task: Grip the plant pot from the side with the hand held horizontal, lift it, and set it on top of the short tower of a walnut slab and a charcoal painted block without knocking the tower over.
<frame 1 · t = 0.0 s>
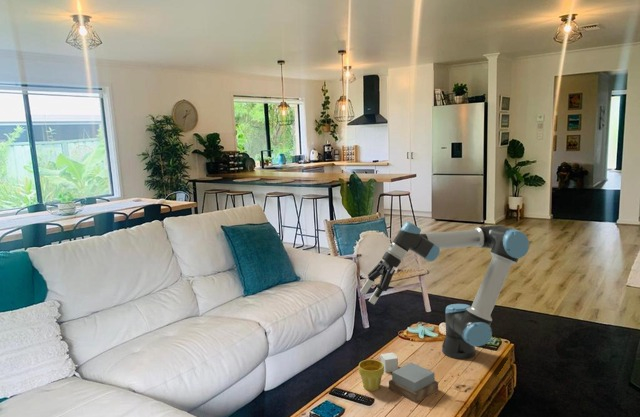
hand: (366, 297, 194), 36 cm above the table, tool tilted 35°, fingers open, 13 cm apart
matte white cube: (389, 369, 206), on the table
plant pot: (371, 387, 191), on the table
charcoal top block: (413, 381, 187), point 3 cm above the table, touching walnut base slab
walnut base slab: (413, 390, 188), on the table, touching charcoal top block
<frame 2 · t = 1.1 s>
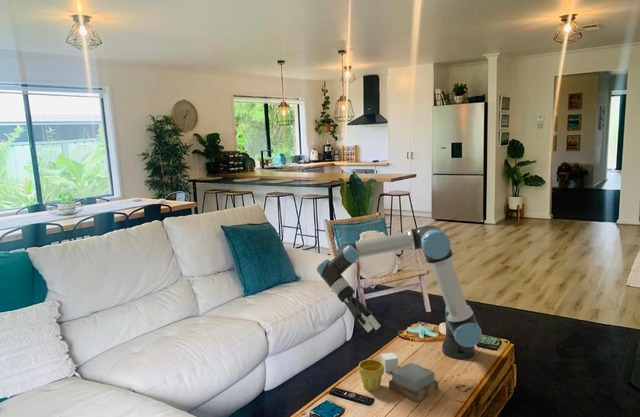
hand: (374, 329, 193), 23 cm above the table, tool tilted 45°, fingers open, 13 cm apart
nothing on the table moved.
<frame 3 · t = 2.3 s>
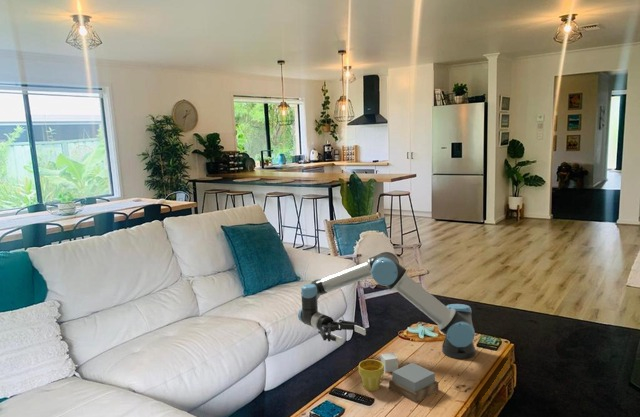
hand: (353, 336, 196), 19 cm above the table, tool horizontal, fingers open, 13 cm apart
nothing on the table moved.
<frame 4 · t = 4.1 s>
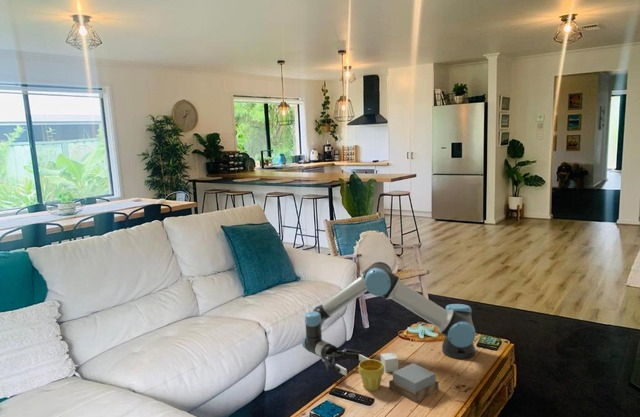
hand: (358, 367, 196), 6 cm above the table, tool horizontal, fingers open, 13 cm apart
nothing on the table moved.
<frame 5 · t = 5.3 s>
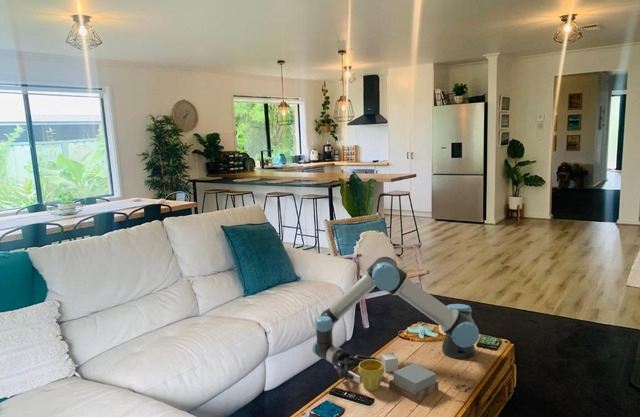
hand: (371, 374, 190), 6 cm above the table, tool horizontal, fingers open, 13 cm apart
nothing on the table moved.
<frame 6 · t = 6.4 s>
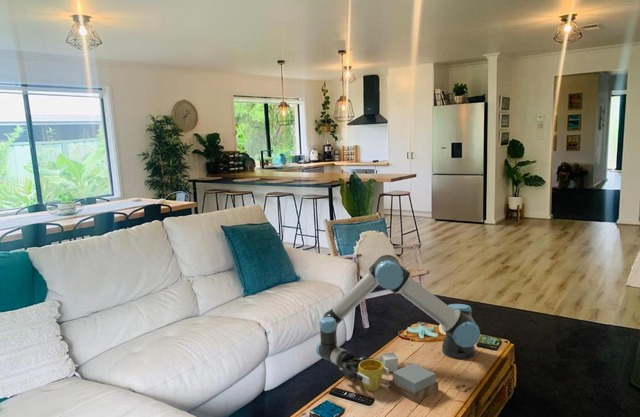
hand: (378, 376, 187), 6 cm above the table, tool horizontal, fingers closed on plant pot, 10 cm apart
plant pot: (371, 387, 191), on the table, touching gripper
everything else where it was.
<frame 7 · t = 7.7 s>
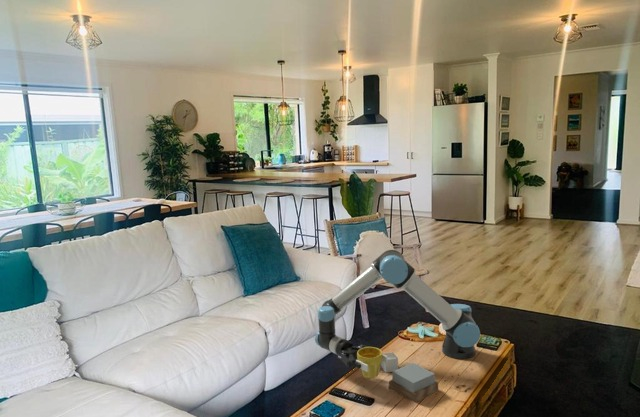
hand: (377, 363, 186), 12 cm above the table, tool horizontal, fingers closed on plant pot, 10 cm apart
plant pot: (370, 374, 190), point 5 cm above the table, touching gripper
everything else where it was.
when the fingers open (15 cm above the table, at t = 11.8 s): plant pot drops 2 cm, resting on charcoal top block.
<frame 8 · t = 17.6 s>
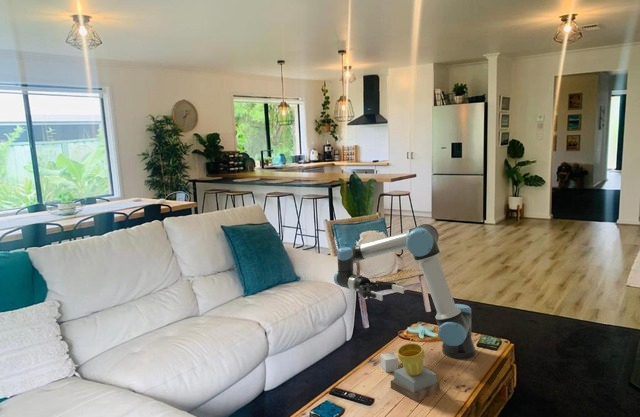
hand: (393, 293, 200), 35 cm above the table, tool horizontal, fingers open, 13 cm apart
plant pot: (414, 371, 187), point 8 cm above the table, touching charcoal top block
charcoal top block: (415, 381, 188), point 3 cm above the table, touching plant pot, walnut base slab
everything else where it was.
at the end: plant pot inside the target area on the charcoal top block (0.3 cm from its centre), point 4.6 cm above the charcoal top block's base; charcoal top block tilted 0°; walnut base slab moved 1.2 cm from its start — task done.
